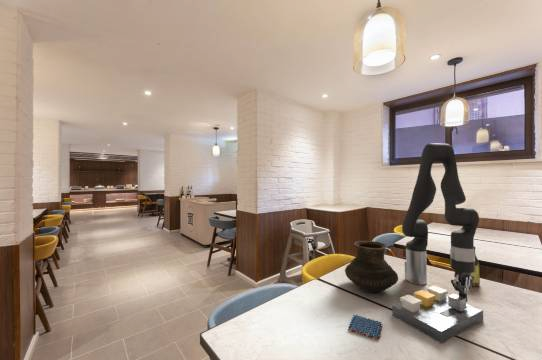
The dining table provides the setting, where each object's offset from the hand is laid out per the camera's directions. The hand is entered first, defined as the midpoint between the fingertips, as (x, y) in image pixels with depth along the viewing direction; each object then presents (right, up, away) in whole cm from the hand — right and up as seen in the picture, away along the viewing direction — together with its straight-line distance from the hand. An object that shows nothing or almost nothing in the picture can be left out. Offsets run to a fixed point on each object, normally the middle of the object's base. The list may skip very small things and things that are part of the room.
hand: (463, 301), depth 90 cm
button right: (-5, -4, +7) cm, 10 cm away
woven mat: (-42, -7, -6) cm, 43 cm away
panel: (-11, -6, -1) cm, 13 cm away
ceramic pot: (-26, -7, +24) cm, 36 cm away
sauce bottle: (+28, -6, +28) cm, 40 cm away
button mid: (-13, -4, +3) cm, 14 cm away
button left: (-21, -4, -1) cm, 22 cm away
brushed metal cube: (-4, -1, -2) cm, 4 cm away
